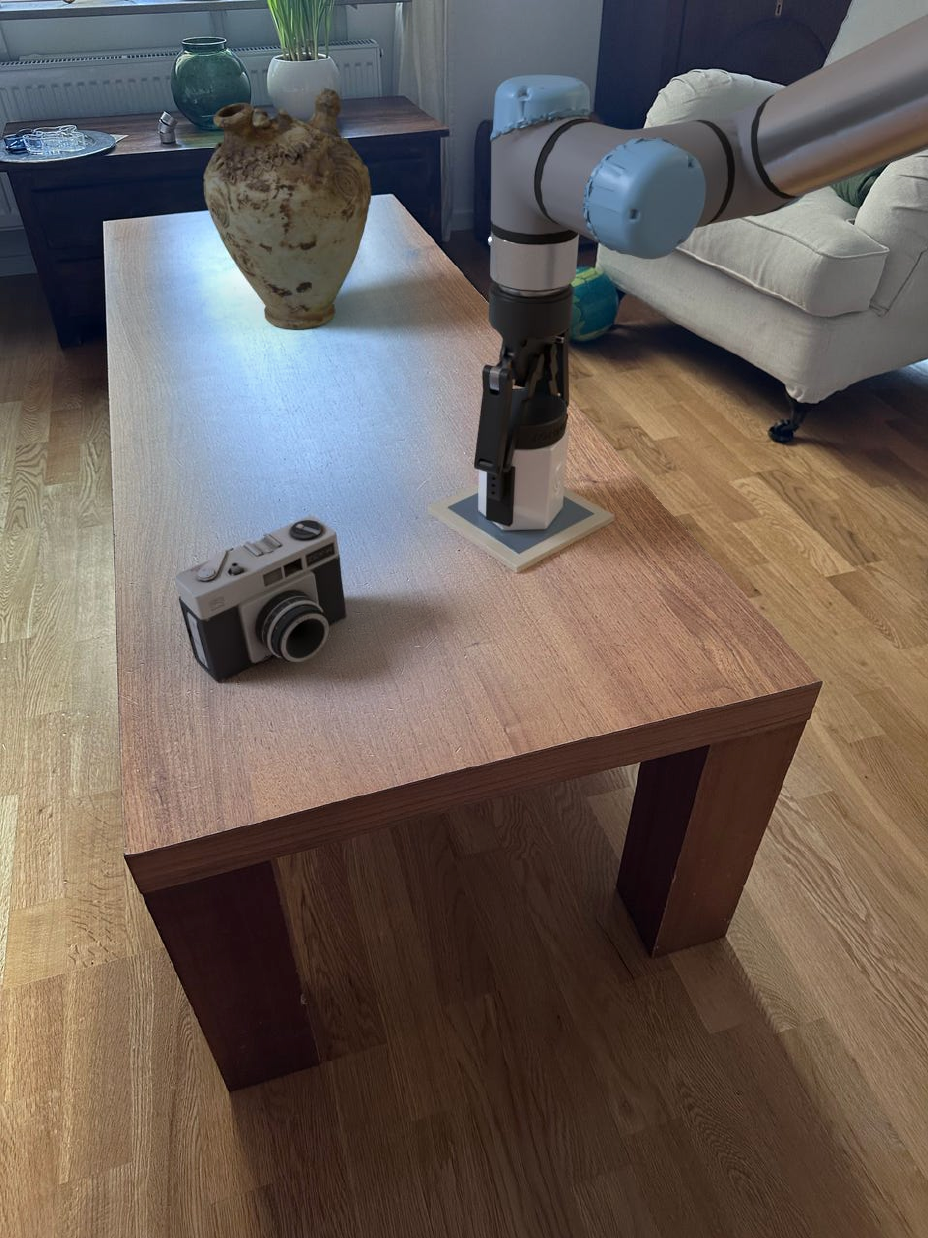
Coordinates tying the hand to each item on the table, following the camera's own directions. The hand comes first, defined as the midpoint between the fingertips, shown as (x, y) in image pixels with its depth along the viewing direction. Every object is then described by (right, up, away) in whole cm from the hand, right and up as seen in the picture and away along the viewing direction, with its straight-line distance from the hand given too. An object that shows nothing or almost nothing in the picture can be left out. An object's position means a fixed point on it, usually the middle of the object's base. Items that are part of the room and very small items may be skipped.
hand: (520, 498), depth 92 cm
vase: (-31, +34, +44) cm, 63 cm away
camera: (-22, -15, -14) cm, 30 cm away
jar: (0, -1, +1) cm, 2 cm away
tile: (0, -2, +1) cm, 2 cm away
